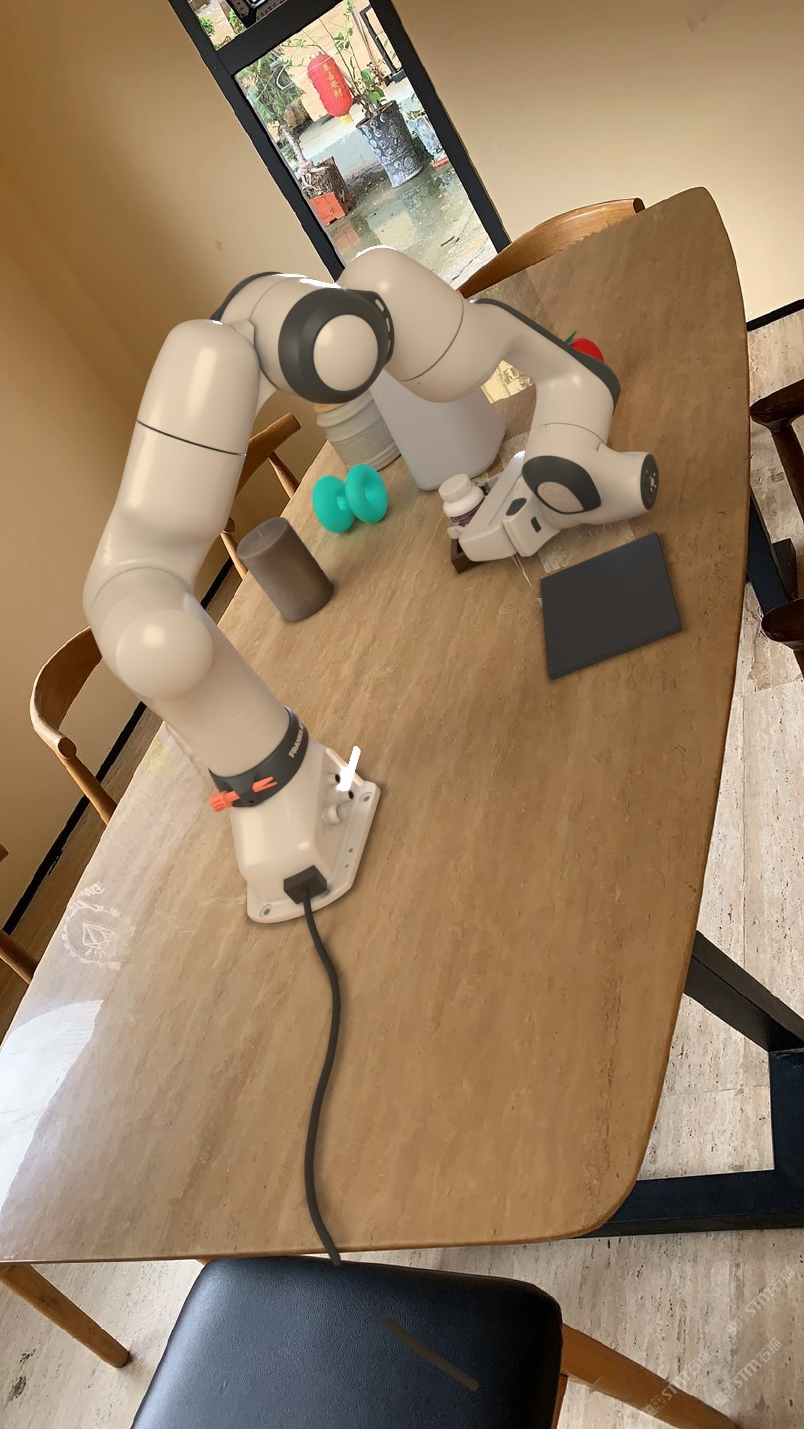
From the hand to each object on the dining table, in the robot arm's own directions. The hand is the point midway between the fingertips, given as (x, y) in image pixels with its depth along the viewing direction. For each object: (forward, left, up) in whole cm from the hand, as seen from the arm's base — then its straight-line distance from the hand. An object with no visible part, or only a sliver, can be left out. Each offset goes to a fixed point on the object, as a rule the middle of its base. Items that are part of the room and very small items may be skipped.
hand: (465, 509), depth 150 cm
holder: (0, 0, -7) cm, 7 cm away
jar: (+47, +22, -7) cm, 52 cm away
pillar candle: (+6, +32, -7) cm, 33 cm away
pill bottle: (0, 0, -7) cm, 7 cm away
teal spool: (+24, +23, -7) cm, 34 cm away
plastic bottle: (+29, +4, -7) cm, 30 cm away
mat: (-26, -16, -7) cm, 31 cm away
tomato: (+33, -18, -7) cm, 38 cm away
